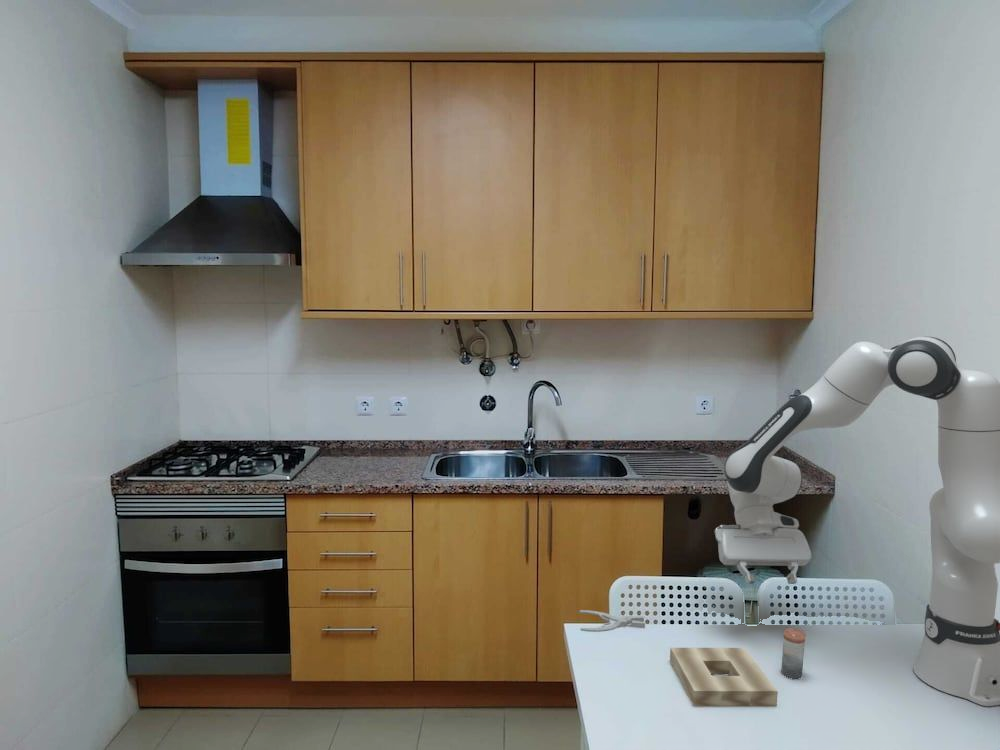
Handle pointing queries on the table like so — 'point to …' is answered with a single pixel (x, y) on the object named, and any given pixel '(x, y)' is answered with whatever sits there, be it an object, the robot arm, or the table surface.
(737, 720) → the table surface
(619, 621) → the pliers
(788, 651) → the steel peg
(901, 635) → the table surface
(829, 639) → the table surface
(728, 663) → the wooden flat square block
